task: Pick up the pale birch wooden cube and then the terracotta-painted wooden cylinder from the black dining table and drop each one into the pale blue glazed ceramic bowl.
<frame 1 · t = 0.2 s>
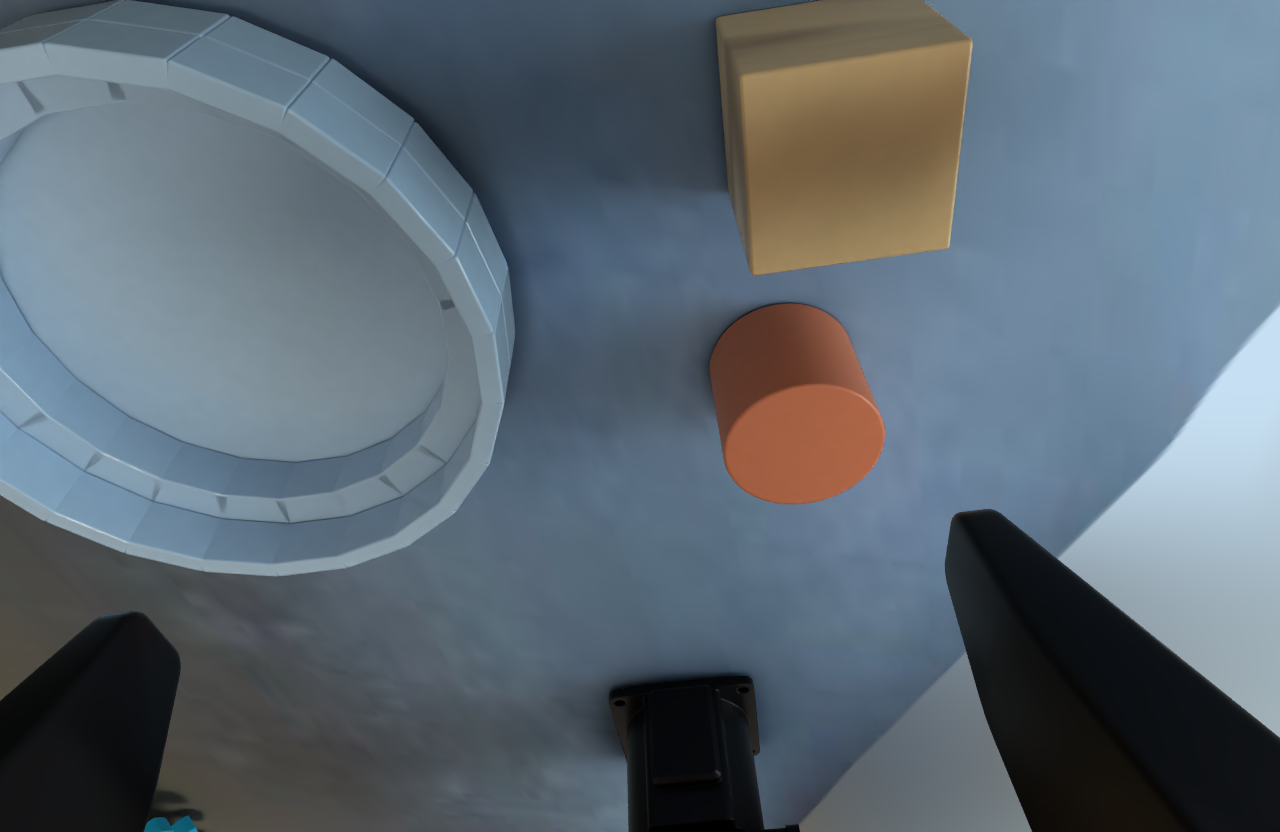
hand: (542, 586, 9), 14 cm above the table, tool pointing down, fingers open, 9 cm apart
terracotta cylinder: (779, 363, 25), on the table
blue toy stand: (131, 811, 43), on the table
bowl: (244, 291, 23), on the table
birch cube: (810, 97, 20), on the table
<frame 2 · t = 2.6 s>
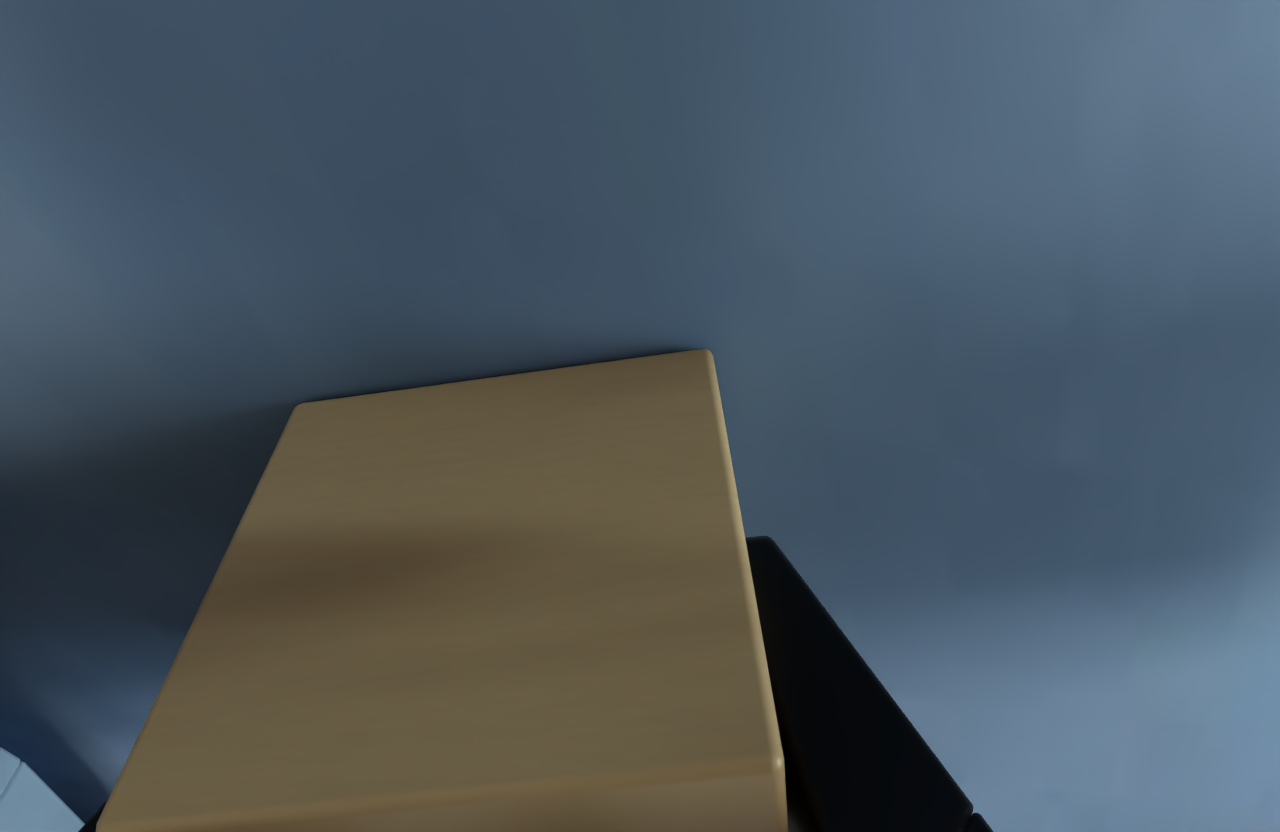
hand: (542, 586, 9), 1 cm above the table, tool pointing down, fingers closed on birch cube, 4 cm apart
birch cube: (545, 518, 10), on the table, touching gripper
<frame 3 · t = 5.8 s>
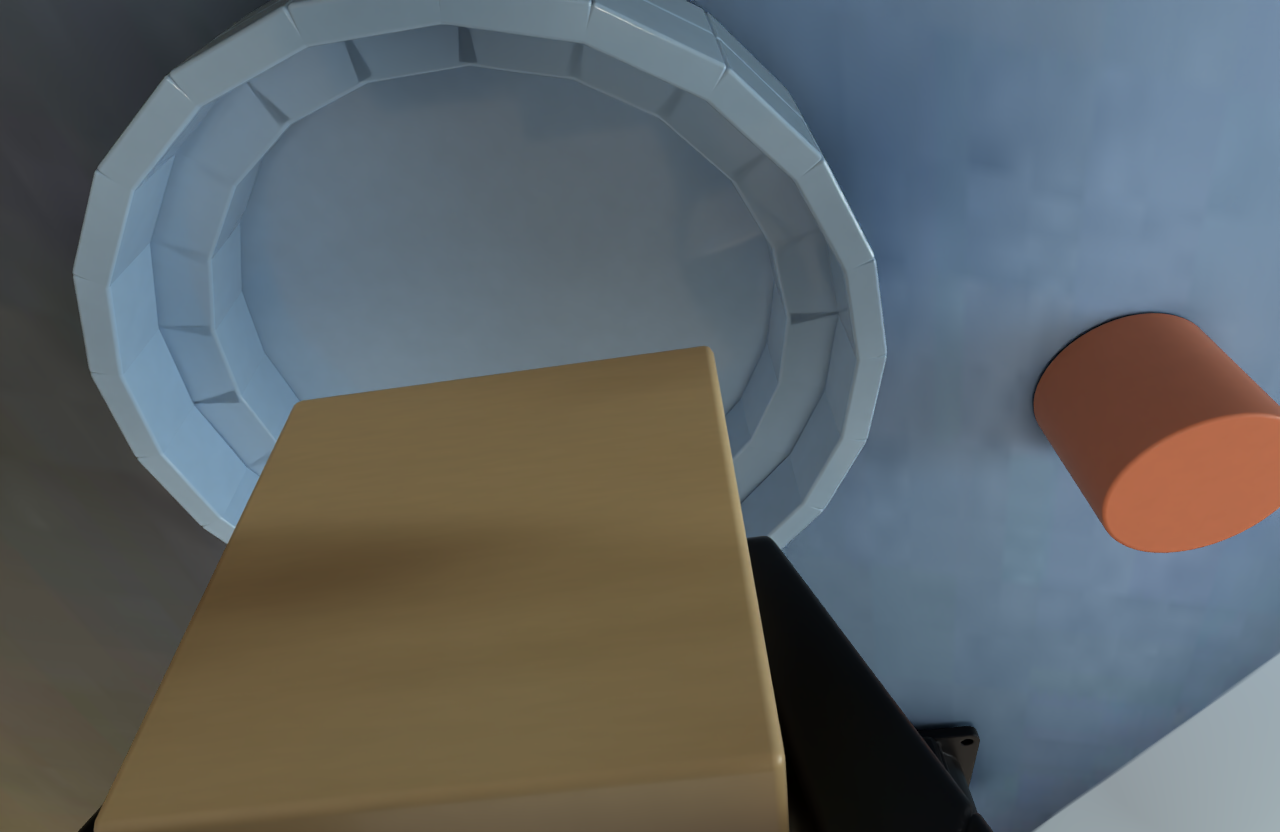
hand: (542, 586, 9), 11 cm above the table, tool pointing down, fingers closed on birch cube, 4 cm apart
terracotta cylinder: (1118, 382, 21), on the table
bowl: (516, 302, 19), on the table
birch cube: (545, 516, 10), point 10 cm above the table, touching gripper
when the fingers open (2 cm above the table, at t = 9.0 s): birch cube stays where it is, resting on bowl.
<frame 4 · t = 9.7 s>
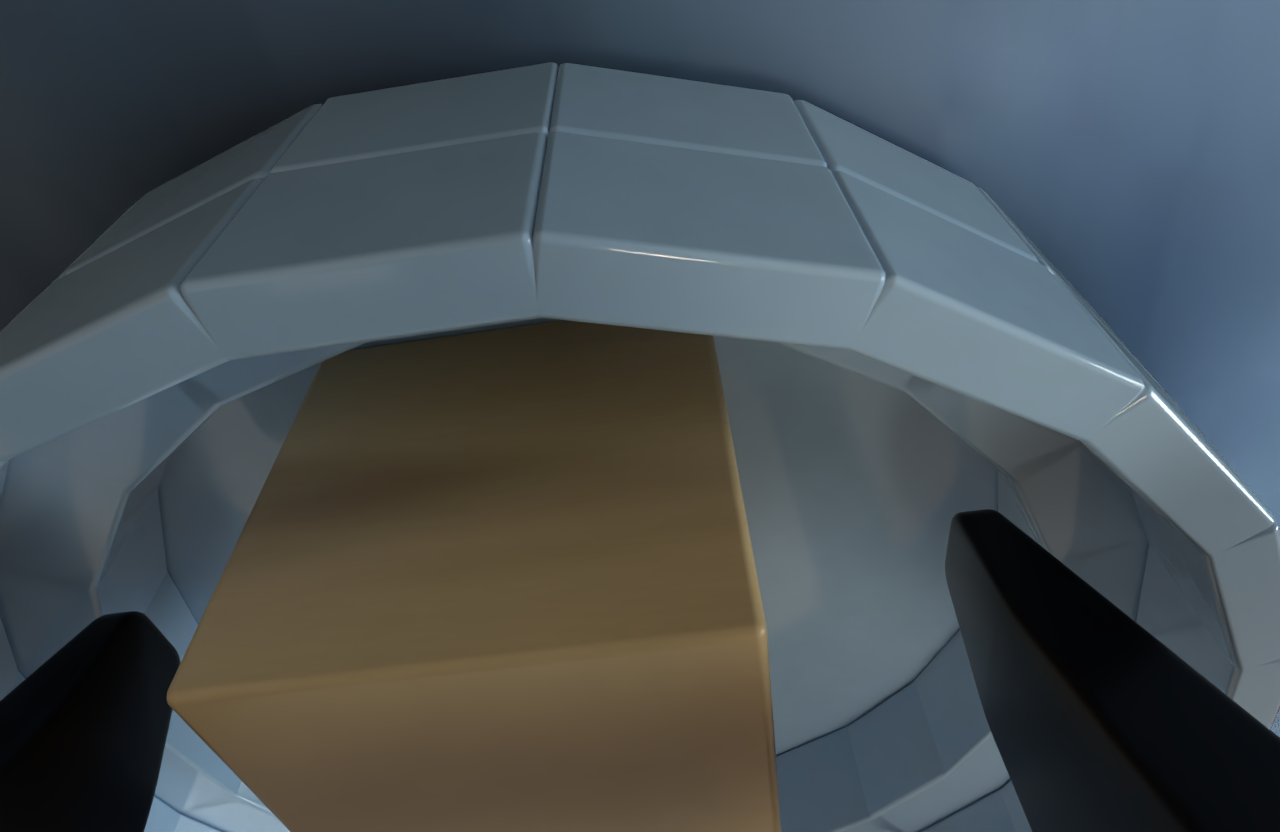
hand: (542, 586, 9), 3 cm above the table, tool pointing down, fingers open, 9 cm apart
bowl: (591, 564, 13), on the table
birch cube: (553, 465, 10), point 1 cm above the table, touching bowl
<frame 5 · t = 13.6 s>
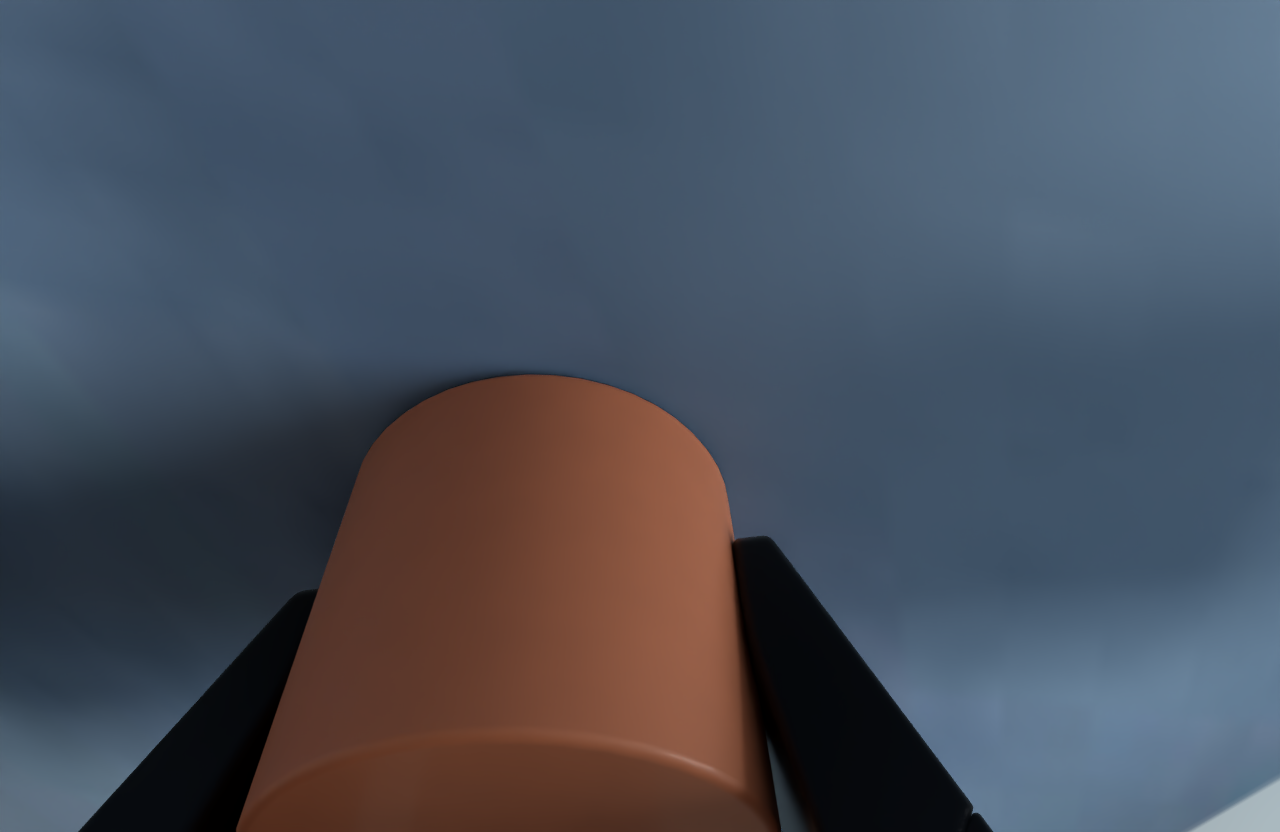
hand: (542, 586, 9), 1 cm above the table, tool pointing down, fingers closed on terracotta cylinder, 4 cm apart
terracotta cylinder: (545, 518, 10), on the table, touching gripper
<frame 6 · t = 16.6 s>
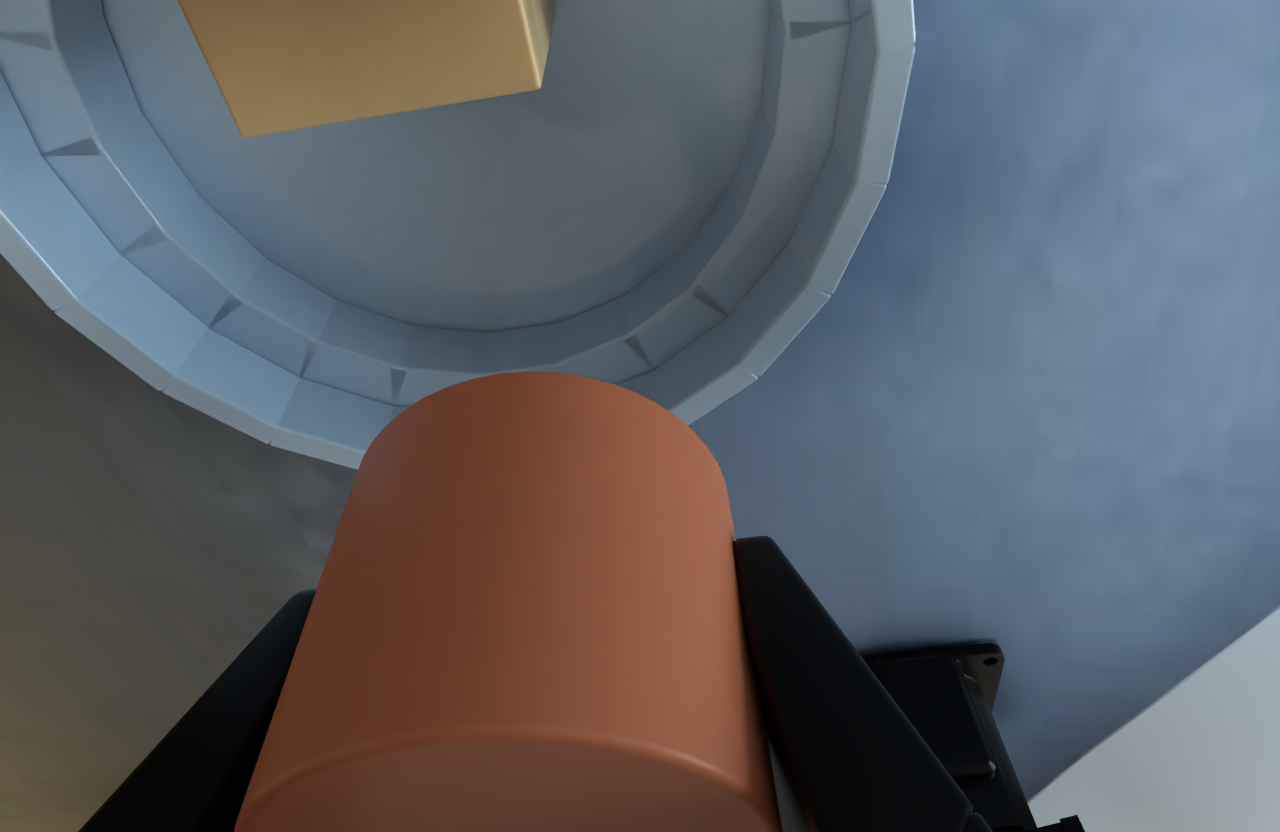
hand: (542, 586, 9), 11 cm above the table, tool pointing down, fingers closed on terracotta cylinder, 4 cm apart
terracotta cylinder: (544, 516, 10), point 10 cm above the table, touching gripper
bowl: (452, 52, 16), on the table
when the fingers open (2 cm above the table, at t = 19.8 s): terracotta cylinder stays where it is, resting on bowl.
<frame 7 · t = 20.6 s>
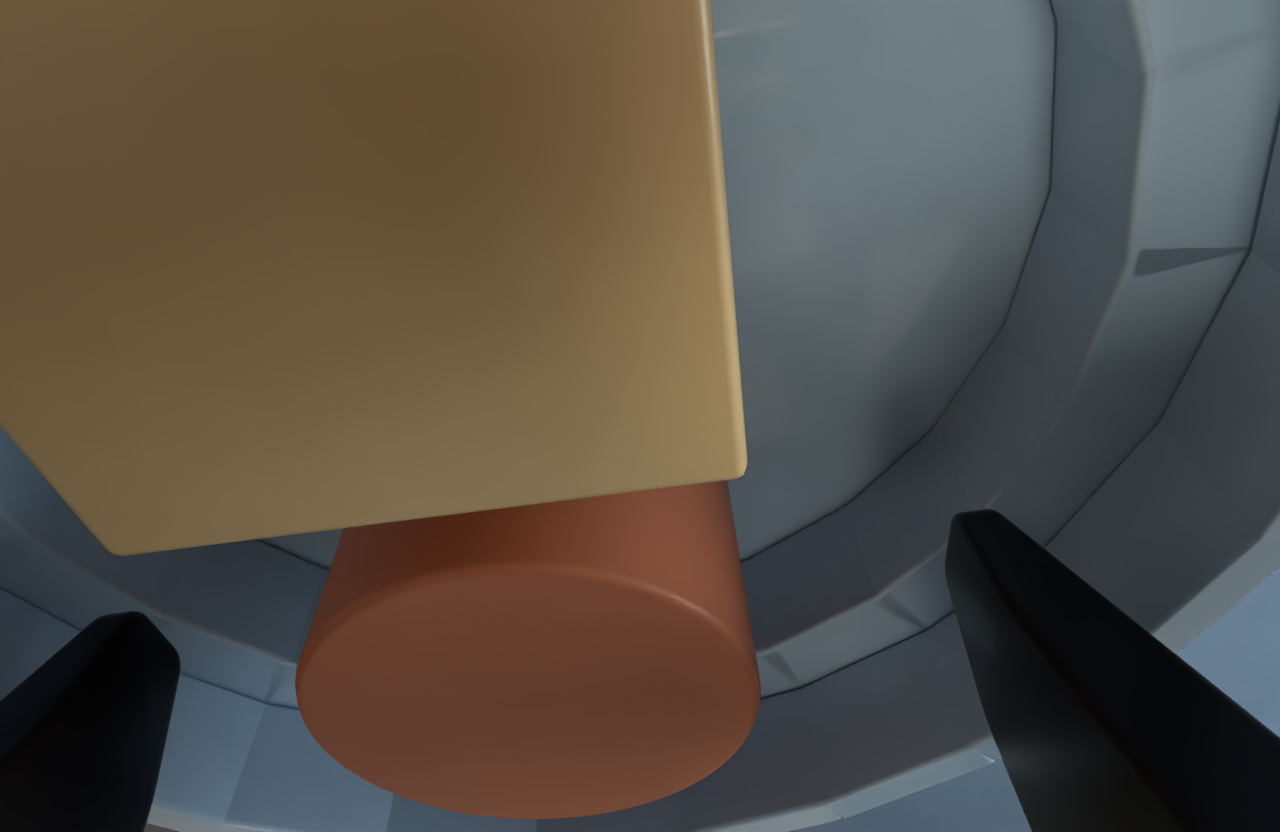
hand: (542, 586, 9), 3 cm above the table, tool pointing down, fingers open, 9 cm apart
terracotta cylinder: (553, 442, 11), point 1 cm above the table, touching bowl
bowl: (508, 241, 10), on the table
birch cube: (430, 6, 7), point 1 cm above the table, touching bowl
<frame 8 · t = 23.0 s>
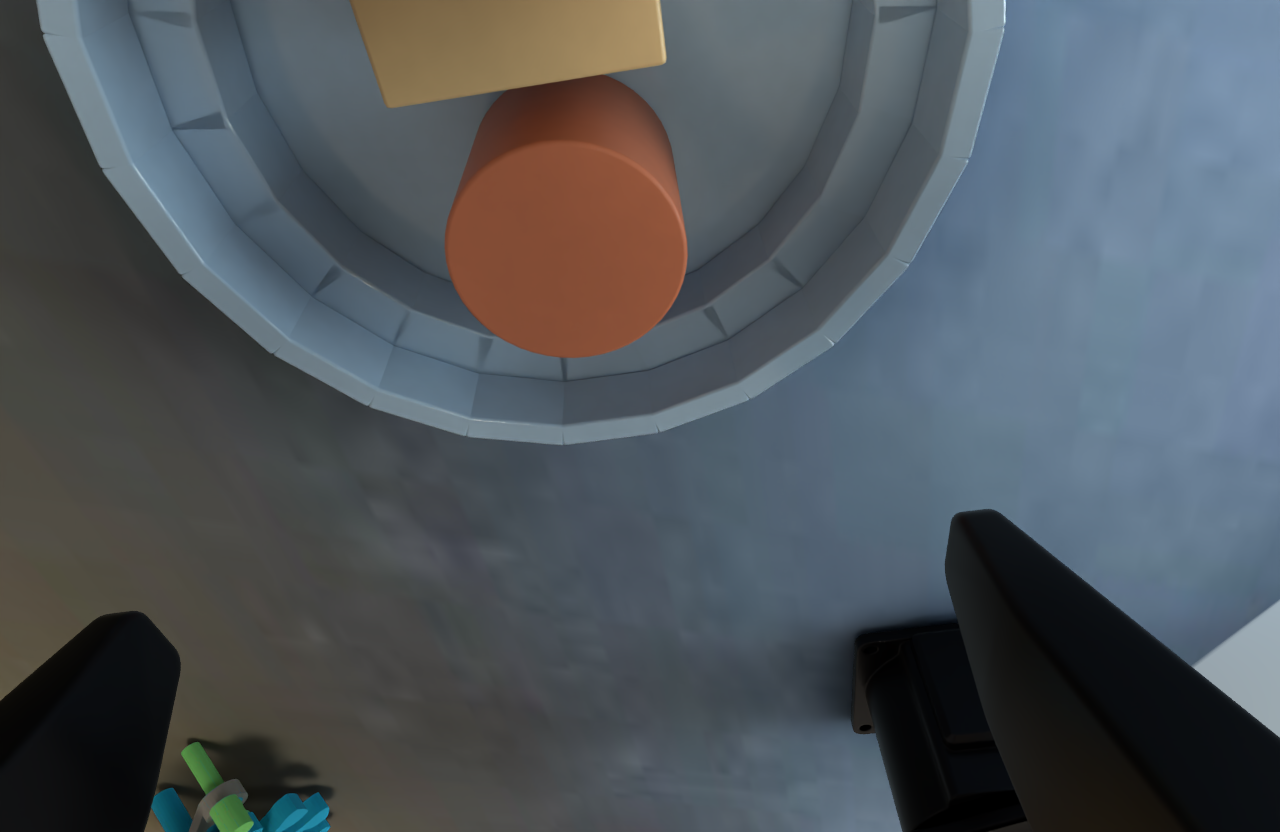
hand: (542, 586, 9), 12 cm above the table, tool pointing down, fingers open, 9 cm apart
terracotta cylinder: (573, 172, 18), point 1 cm above the table, touching bowl
blue toy stand: (250, 788, 36), on the table
bowl: (549, 35, 16), on the table
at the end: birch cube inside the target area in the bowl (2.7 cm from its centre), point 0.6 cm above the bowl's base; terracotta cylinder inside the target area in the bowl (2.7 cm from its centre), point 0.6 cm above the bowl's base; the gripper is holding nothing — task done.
